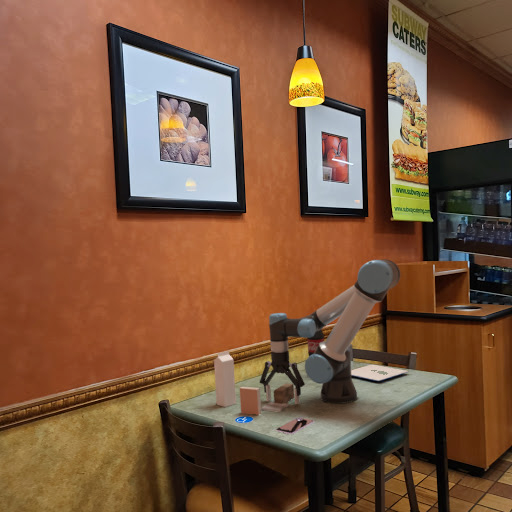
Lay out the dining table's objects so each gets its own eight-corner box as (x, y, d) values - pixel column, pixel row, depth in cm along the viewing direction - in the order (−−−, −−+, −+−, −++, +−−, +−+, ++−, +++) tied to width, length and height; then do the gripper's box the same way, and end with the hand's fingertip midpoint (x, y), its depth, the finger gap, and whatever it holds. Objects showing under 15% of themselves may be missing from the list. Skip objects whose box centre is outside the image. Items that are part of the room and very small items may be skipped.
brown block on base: (282, 396, 204) (281, 382, 205) (299, 398, 201) (298, 384, 201) (261, 410, 188) (260, 395, 188) (279, 412, 184) (278, 396, 184)
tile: (261, 413, 183) (259, 388, 183) (258, 415, 181) (257, 389, 182) (243, 411, 187) (242, 386, 187) (240, 413, 185) (239, 388, 185)
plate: (378, 384, 214) (378, 380, 214) (342, 376, 232) (342, 372, 232) (408, 375, 228) (408, 370, 228) (372, 368, 246) (371, 364, 246)
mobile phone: (273, 429, 164) (297, 416, 176) (274, 432, 164) (298, 419, 176) (291, 433, 159) (315, 419, 171) (292, 436, 159) (315, 422, 171)
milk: (216, 404, 199) (213, 352, 199) (227, 401, 203) (224, 350, 203) (225, 407, 194) (221, 354, 194) (236, 403, 198) (233, 351, 198)
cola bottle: (308, 375, 238) (305, 316, 238) (325, 374, 238) (322, 315, 238) (310, 379, 230) (306, 318, 230) (327, 378, 229) (323, 317, 230)
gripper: (310, 349, 194) (313, 401, 193) (258, 347, 205) (261, 396, 205) (303, 353, 187) (306, 407, 187) (249, 351, 199) (252, 401, 199)
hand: (282, 401), depth 196 cm, fingers open, 12 cm apart
